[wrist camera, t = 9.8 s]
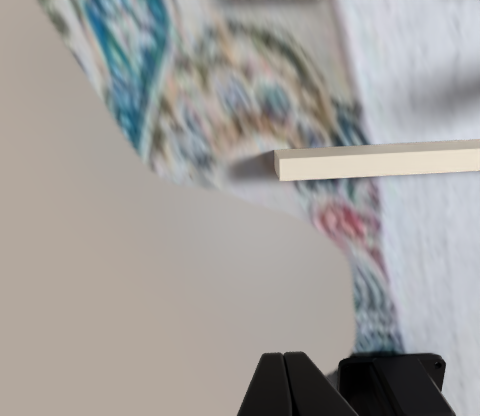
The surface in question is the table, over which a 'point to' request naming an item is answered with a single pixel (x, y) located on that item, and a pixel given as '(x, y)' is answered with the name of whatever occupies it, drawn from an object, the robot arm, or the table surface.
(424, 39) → the table surface
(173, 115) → the table surface
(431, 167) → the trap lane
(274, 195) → the table surface
